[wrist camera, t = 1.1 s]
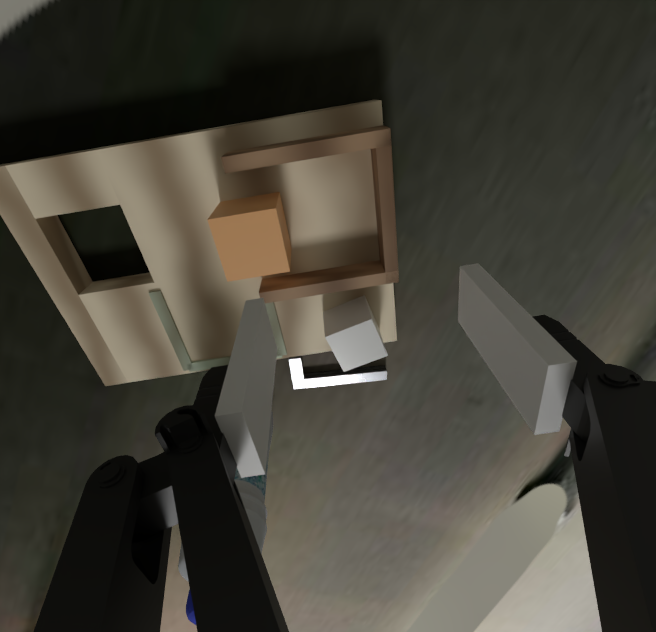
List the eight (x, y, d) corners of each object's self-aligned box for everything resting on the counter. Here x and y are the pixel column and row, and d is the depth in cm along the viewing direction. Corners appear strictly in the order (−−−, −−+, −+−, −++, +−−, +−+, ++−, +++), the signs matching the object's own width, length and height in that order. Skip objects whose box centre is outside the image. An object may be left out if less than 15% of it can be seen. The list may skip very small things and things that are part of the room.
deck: (116, 369, 38) (104, 387, 36) (-2, 164, 28) (-29, 171, 26) (391, 326, 38) (397, 341, 35) (375, 99, 27) (382, 100, 25)
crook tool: (294, 381, 41) (293, 389, 40) (289, 352, 39) (288, 359, 38) (384, 372, 41) (386, 379, 40) (384, 342, 39) (386, 349, 38)
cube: (236, 257, 30) (227, 281, 26) (220, 201, 28) (207, 219, 24) (291, 248, 30) (290, 271, 26) (279, 191, 28) (276, 208, 24)
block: (339, 344, 35) (343, 372, 32) (322, 311, 33) (325, 337, 30) (379, 329, 35) (387, 355, 31) (364, 294, 33) (371, 318, 29)
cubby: (264, 289, 32) (261, 303, 30) (227, 151, 26) (220, 157, 24) (392, 269, 32) (398, 282, 29) (383, 125, 26) (390, 128, 24)
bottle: (206, 416, 43) (142, 635, 26) (231, 377, 40) (178, 592, 23) (259, 436, 45) (233, 650, 28) (287, 399, 42) (276, 612, 25)
